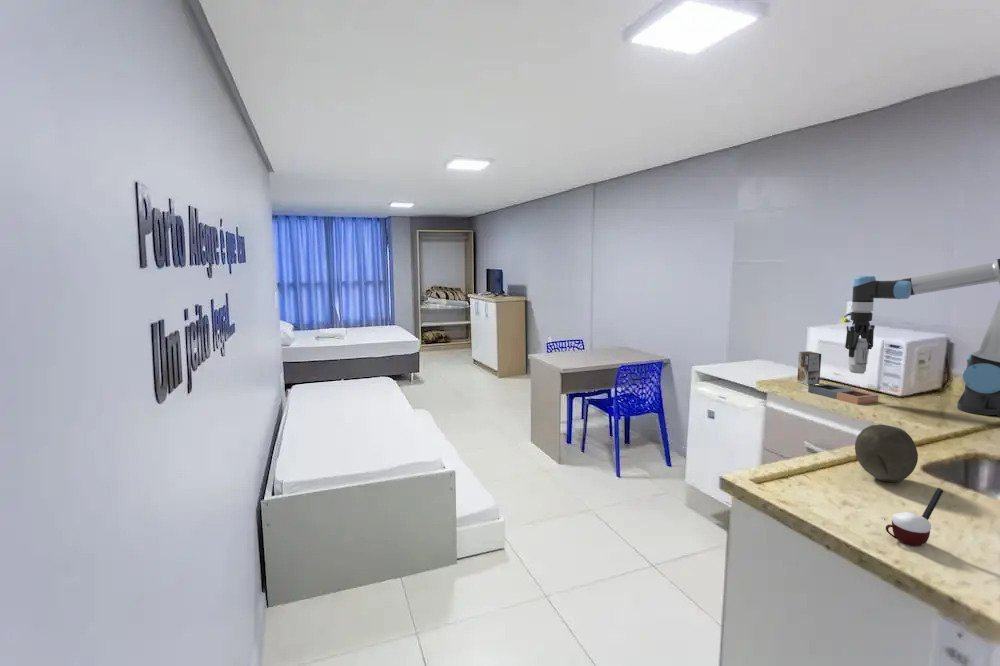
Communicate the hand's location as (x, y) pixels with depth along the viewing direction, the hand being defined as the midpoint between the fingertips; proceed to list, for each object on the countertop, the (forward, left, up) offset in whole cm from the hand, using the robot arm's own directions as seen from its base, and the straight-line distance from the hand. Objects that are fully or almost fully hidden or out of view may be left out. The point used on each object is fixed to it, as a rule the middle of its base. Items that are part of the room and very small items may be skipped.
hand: (857, 363), depth 215 cm
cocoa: (+101, +90, -17) cm, 136 cm away
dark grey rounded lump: (+74, +65, -17) cm, 100 cm away
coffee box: (-10, -32, -17) cm, 38 cm away
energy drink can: (0, 0, -4) cm, 4 cm away
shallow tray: (0, -6, -16) cm, 18 cm away
